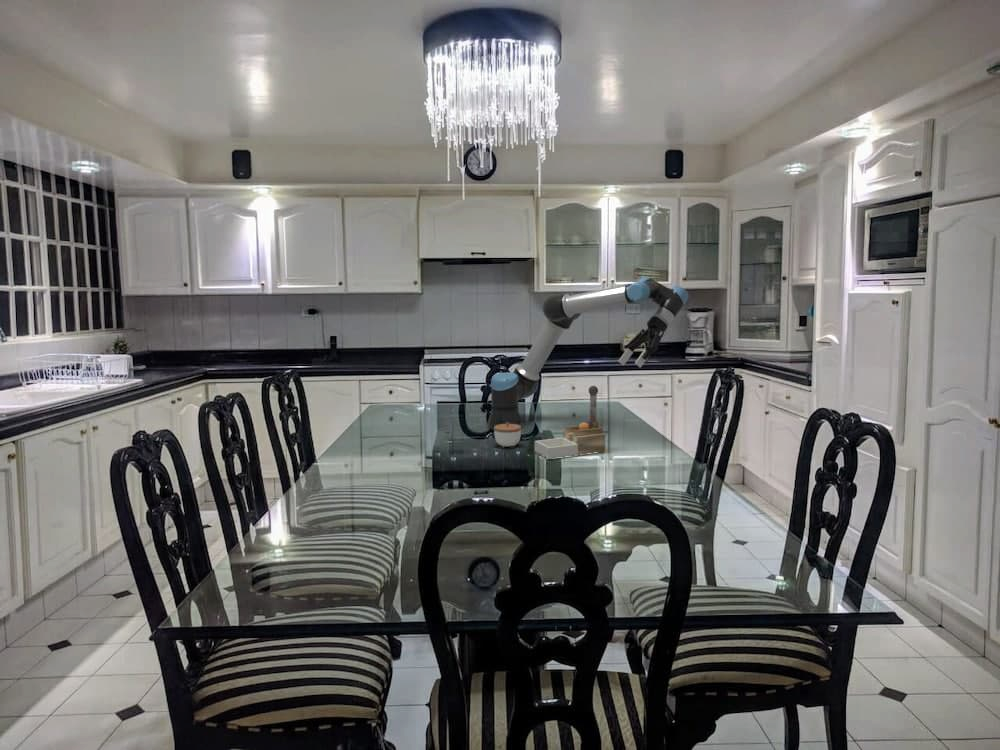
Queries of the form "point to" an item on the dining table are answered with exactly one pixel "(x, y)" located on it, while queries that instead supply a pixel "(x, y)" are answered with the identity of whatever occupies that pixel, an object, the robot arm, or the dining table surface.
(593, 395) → the plunger
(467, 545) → the dining table surface
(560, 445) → the tray
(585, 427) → the ball
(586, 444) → the launcher
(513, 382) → the robot arm
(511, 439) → the lidded jar
